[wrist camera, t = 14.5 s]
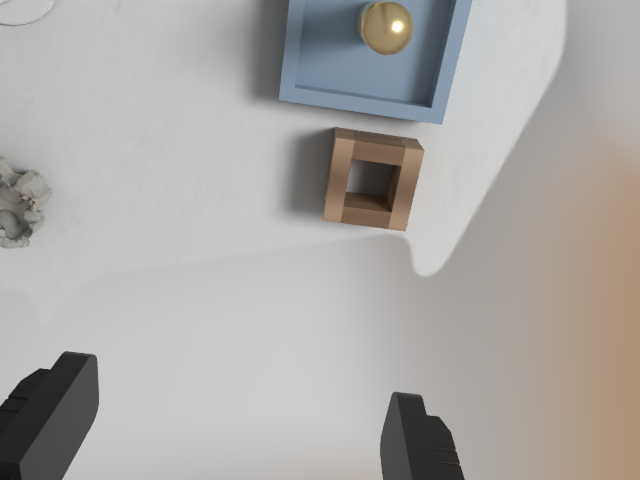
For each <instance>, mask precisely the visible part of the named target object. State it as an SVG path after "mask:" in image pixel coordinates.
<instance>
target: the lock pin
mask: <svg viewBox="0 0 640 480" xmlns="http://www.w3.org/2000/svg"><path fill="white" fill-rule="evenodd" d="M355 24H356V30H357V32H358V34H359V36H360V37H361V38H362V39H363V40H364V41H365V42H366V43H367V45H368V46H369V47H370V48H371V49H372V50H373V51H375V52H376V53H379V54H382V55H393V54H396V53H398V52H400V51H402V50H403V49H404V48H405V47H406V46H407V45H408V43H409V42H410V40H411V37H412V34H413V20H412V17H411V15H410V13H409V11H408V10H407V9H406V8H405V7H404V6H402V5H401V4H398V3H395V2H385V1H372V2H369V3H367V4H365V5H364V6H363V7H362V8H361V9H360V10H359V12H358V14H357V16H356V23H355Z"/></svg>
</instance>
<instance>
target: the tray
mask: <svg viewBox="0 0 640 480" xmlns="http://www.w3.org/2000/svg"><path fill="white" fill-rule="evenodd" d="M372 1H385V2H395V3H398V4H401V5H402V6H404V7H405V8H406V9H407V10H408V11H409V13H410V15H411V17H412V20H413V34H412V37H411V40H410V42H409V43H408V45H407V46H406V47H405V48H404V49H403V50H402V51H400V52H398V53H396V54H393V55H382V54H379V53H376V52H375V51H373V50H372V49H371V48H370V47H369V46H368V45H367V43H366V42H365V41H364V40H363V39H362V38H361V37H360V36H359V34H358V32H357V30H356V24H355V23H356V16H357V14H358V12H359V10H360V9H361V8H362V7H363V6H364V5H365V4H367V3H369V2H372ZM471 4H472V0H289V8H288V18H287V27H286V36H285V45H284V55H283V64H282V73H281V82H280V92H279V100H280V101H287V102H294V103H301V104H307V105H314V106H321V107H327V108H334V109H341V110H348V111H354V112H361V113H368V114H375V115H381V116H388V117H395V118H401V119H408V120H415V121H422V122H428V123H435V124H442V122H443V118H444V114H445V110H446V106H447V102H448V98H449V94H450V89H451V85H452V81H453V77H454V73H455V69H456V65H457V61H458V57H459V53H460V49H461V44H462V40H463V36H464V32H465V28H466V24H467V20H468V16H469V12H470V8H471Z"/></svg>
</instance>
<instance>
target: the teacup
mask: <svg viewBox="0 0 640 480" xmlns="http://www.w3.org/2000/svg"><path fill="white" fill-rule="evenodd" d="M55 1H56V0H0V24H4V25H13V26H15V25H24V24H28V23H31V22H34V21H36V20H38V19H39V18H41V17H42V16H44V15H45V14H46V13H47V12H48V11H49V10H50V8H51V7H52V6H53V4H54V2H55Z"/></svg>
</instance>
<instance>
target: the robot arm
mask: <svg viewBox="0 0 640 480" xmlns="http://www.w3.org/2000/svg"><path fill="white" fill-rule="evenodd" d="M97 368H98V366H97V358H96V356H95V355H92V354H85V353H76V352H68V351H66V352H64V353H63V354H62V355H61V356H60V357H59V359H58V360H57V361H56V363H55V364H54V365H53V367H52V368H51V369H50V370H49V369H41V368H40V369H38V370H37V371H35V372H34V373H32V374H30V375H29V376H28V377H26V378H24V379H23V380H21V381H20V383H19V384H18V385H17V386H16V388H15V389H14V390H13V391H12V393H11V394H10V395H9V397H8V399H6V400H5V401H4V403H3V404H2V405H1V406H0V480H62V478H63V477H64V475H65V473H66V471H67V469H68V468H69V466H70V464H71V462H72V460H73V459H74V457H75V455H76V453H77V451H78V449H79V448H80V446H81V444H82V442H83V440H84V439H85V437H86V435H87V433H88V431H89V429H90V428H91V426H92V424H93V422H94V419H95V417H96V413H97V410H98V405H99V389H98V369H97ZM455 450H456V448H455V445H454V441H453V438H452V435H451V432H450V430H449V429H448V428H447V427H446V425H445V424H444V423H443V421H442V420H441V419H440V417H437V416H429V415H427V414H426V411H425V407H424V402H423V398H422V396H421V395H418V394H408V393H400V392H393V394H392V396H391V400H390V404H389V407H388V411H387V415H386V419H385V423H384V427H383V431H382V435H381V443H380V456H381V465H382V474H383V480H465V479H464V476H463V472H462V469H461V466H459V463H460V462H459V459H458V456H457V452H456V451H455Z"/></svg>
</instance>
